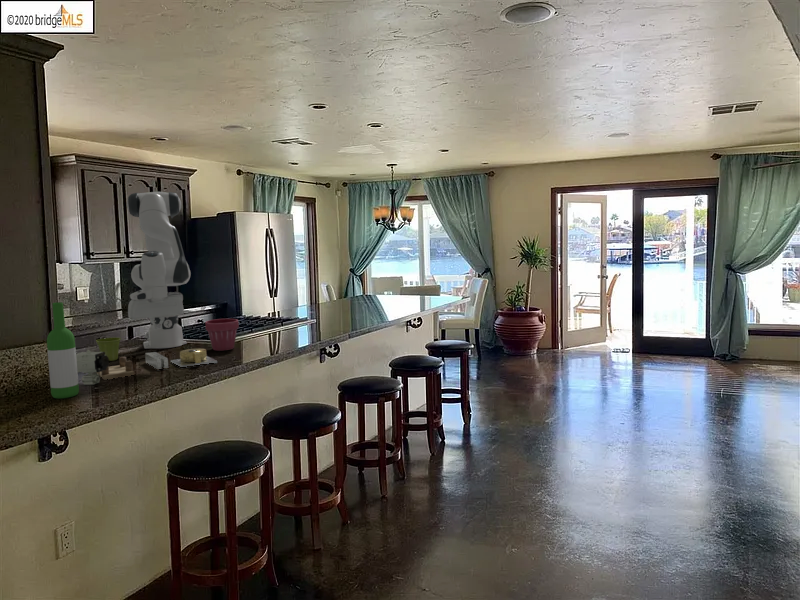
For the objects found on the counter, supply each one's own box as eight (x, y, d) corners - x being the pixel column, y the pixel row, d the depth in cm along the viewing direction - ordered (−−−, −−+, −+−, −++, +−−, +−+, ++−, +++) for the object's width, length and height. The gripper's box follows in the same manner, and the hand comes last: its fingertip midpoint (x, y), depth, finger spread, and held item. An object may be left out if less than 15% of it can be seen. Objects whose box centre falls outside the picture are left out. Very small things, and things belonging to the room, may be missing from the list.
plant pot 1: (127, 358, 249) (126, 338, 248) (108, 362, 240) (106, 341, 239) (111, 357, 253) (110, 337, 252) (92, 361, 244) (90, 340, 243)
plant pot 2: (227, 352, 257) (225, 323, 255) (200, 351, 261) (198, 322, 260) (246, 346, 270) (244, 318, 269) (219, 345, 275) (218, 318, 273)
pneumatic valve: (79, 382, 207) (76, 348, 206) (111, 382, 206) (108, 348, 205) (69, 386, 202) (66, 351, 200) (101, 386, 200) (98, 351, 199)
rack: (95, 372, 223) (94, 359, 222) (125, 368, 229) (124, 355, 228) (103, 380, 210) (102, 366, 209) (134, 375, 216) (133, 362, 215)
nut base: (170, 362, 238) (170, 359, 238) (205, 357, 246) (205, 355, 246) (181, 368, 227) (180, 365, 226) (217, 362, 235) (217, 360, 235)
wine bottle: (59, 400, 184) (51, 304, 180) (46, 397, 188) (38, 303, 184) (84, 394, 190) (76, 301, 187) (70, 391, 194) (63, 301, 191)
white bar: (145, 362, 238) (145, 353, 238) (156, 361, 241) (155, 351, 240) (157, 370, 224) (156, 359, 223) (168, 368, 226) (167, 358, 226)
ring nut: (178, 359, 238) (177, 349, 238) (203, 356, 243) (203, 347, 243) (184, 365, 226) (184, 355, 226) (211, 361, 231) (210, 352, 230)
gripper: (180, 290, 238) (182, 324, 240) (125, 295, 226) (128, 330, 228) (185, 291, 233) (187, 326, 235) (129, 296, 221) (132, 332, 223)
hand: (157, 328), depth 231 cm, fingers closed
